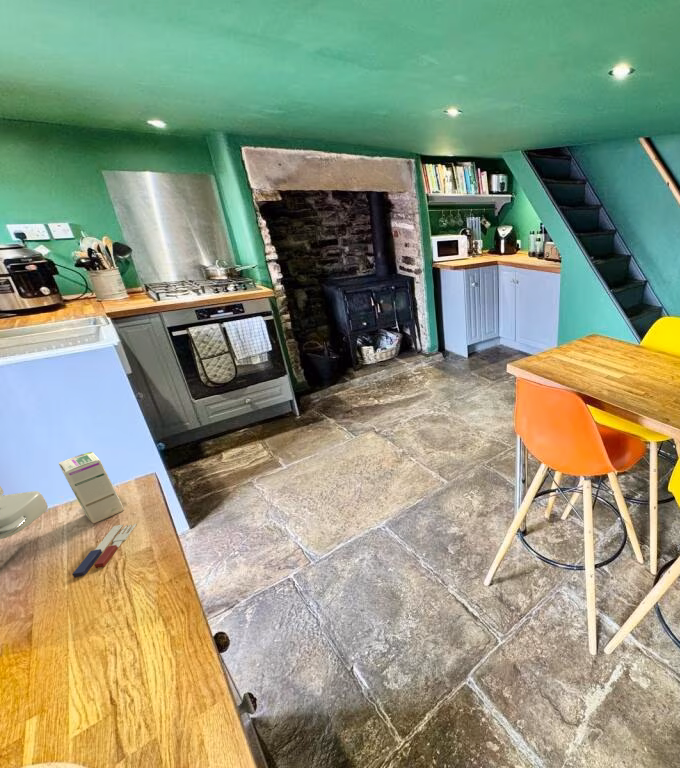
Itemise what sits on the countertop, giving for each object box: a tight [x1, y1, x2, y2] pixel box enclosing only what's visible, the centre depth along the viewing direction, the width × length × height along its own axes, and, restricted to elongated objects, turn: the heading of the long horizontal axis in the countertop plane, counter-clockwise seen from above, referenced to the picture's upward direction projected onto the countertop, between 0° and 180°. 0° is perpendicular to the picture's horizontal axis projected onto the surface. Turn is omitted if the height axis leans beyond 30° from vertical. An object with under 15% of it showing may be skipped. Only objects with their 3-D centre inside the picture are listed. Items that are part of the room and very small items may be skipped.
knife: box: [72, 524, 124, 579], centre depth 83 cm, size 2×14×1 cm, turn 18°
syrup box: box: [58, 451, 125, 524], centre depth 90 cm, size 6×6×14 cm
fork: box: [93, 523, 137, 569], centre depth 84 cm, size 2×12×1 cm, turn 18°
